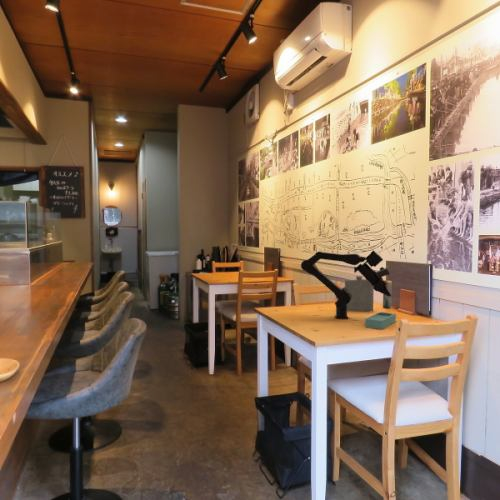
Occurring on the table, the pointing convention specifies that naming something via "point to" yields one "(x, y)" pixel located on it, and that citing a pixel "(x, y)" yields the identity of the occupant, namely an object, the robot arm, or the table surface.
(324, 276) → the robot arm
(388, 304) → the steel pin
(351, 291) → the dark grey upright panel
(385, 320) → the bar
